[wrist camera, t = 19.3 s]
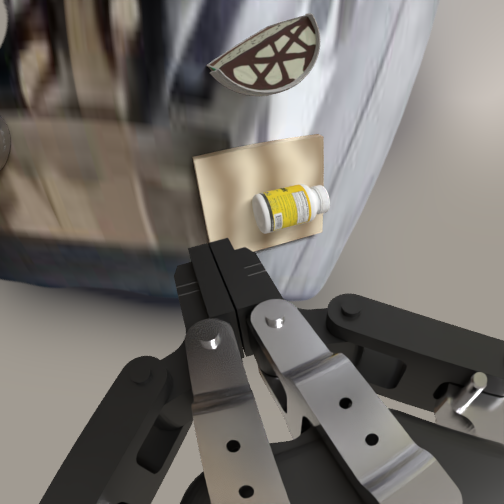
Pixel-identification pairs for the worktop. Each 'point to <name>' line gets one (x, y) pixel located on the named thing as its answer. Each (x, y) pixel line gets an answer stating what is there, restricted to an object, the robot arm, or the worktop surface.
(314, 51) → the food container
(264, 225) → the supplement bottle
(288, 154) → the birch board
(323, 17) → the worktop surface
